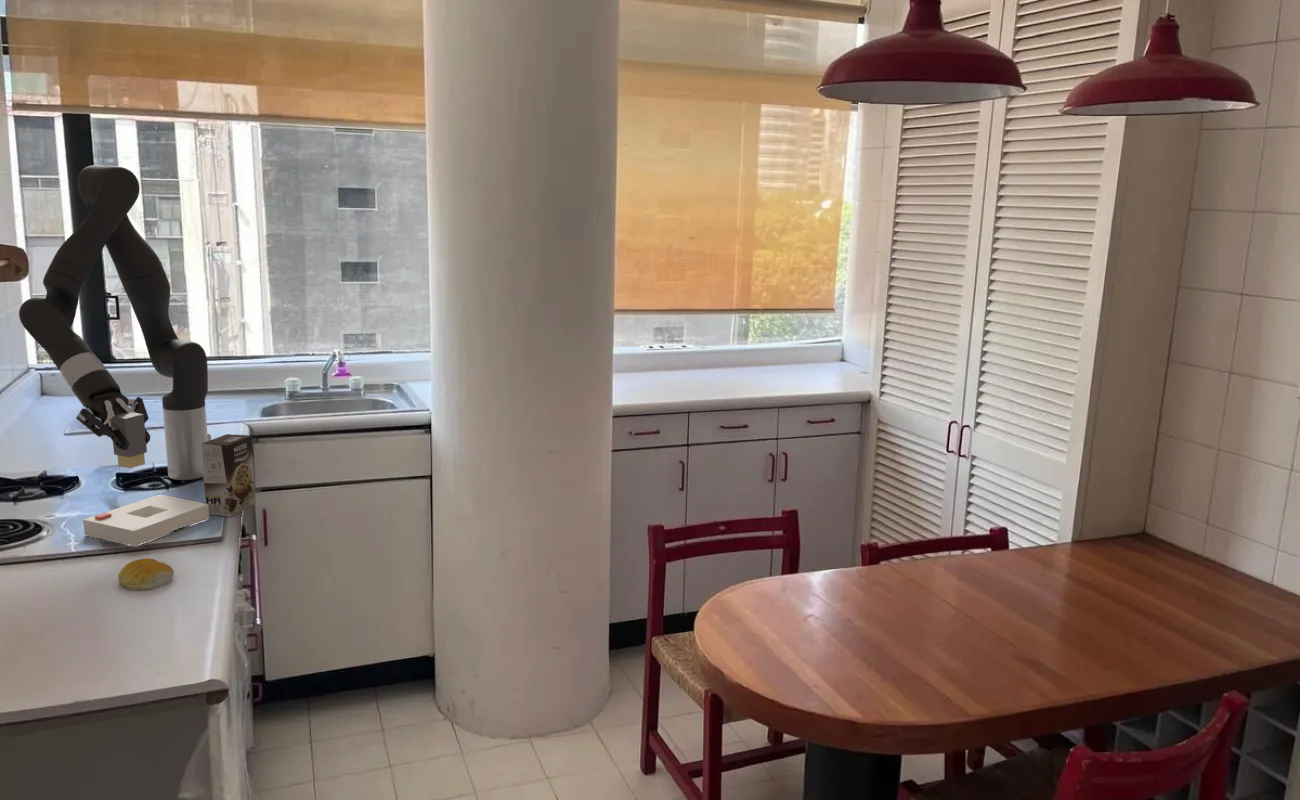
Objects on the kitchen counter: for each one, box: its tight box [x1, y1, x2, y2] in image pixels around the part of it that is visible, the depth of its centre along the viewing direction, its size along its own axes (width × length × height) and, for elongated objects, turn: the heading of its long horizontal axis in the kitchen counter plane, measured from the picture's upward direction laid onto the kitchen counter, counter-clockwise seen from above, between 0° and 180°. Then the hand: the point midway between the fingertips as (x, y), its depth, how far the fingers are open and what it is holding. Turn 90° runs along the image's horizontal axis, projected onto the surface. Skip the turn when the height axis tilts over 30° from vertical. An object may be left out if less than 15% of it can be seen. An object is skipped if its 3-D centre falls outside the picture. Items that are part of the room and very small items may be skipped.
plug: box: [112, 412, 148, 469], centre depth 190 cm, size 4×4×10 cm
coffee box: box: [202, 433, 256, 518], centre depth 204 cm, size 9×6×16 cm
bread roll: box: [117, 557, 175, 592], centre depth 168 cm, size 8×9×4 cm
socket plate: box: [82, 494, 210, 548], centre depth 193 cm, size 18×14×4 cm
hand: (136, 444), depth 189 cm, fingers closed on plug, 4 cm apart
